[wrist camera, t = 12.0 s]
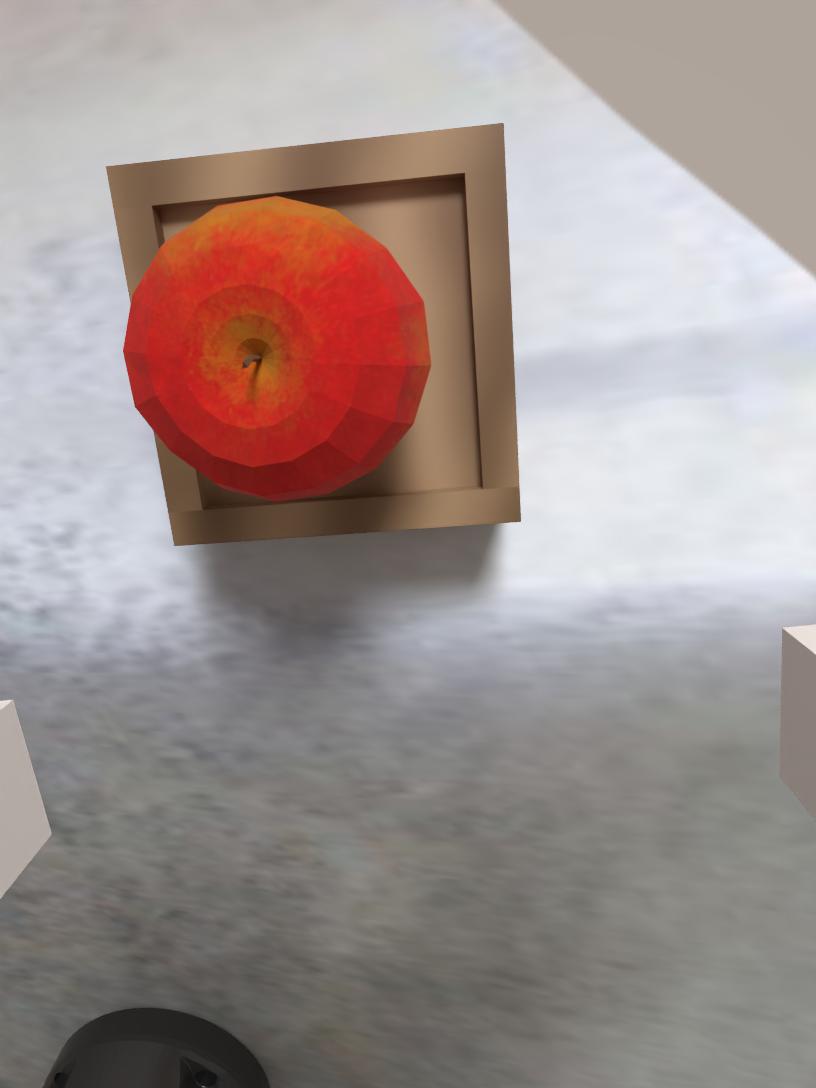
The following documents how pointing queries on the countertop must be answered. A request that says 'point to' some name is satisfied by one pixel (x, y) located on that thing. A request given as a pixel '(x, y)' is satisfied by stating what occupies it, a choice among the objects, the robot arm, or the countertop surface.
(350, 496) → the walnut tray
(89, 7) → the countertop surface
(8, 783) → the robot arm
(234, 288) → the apple
